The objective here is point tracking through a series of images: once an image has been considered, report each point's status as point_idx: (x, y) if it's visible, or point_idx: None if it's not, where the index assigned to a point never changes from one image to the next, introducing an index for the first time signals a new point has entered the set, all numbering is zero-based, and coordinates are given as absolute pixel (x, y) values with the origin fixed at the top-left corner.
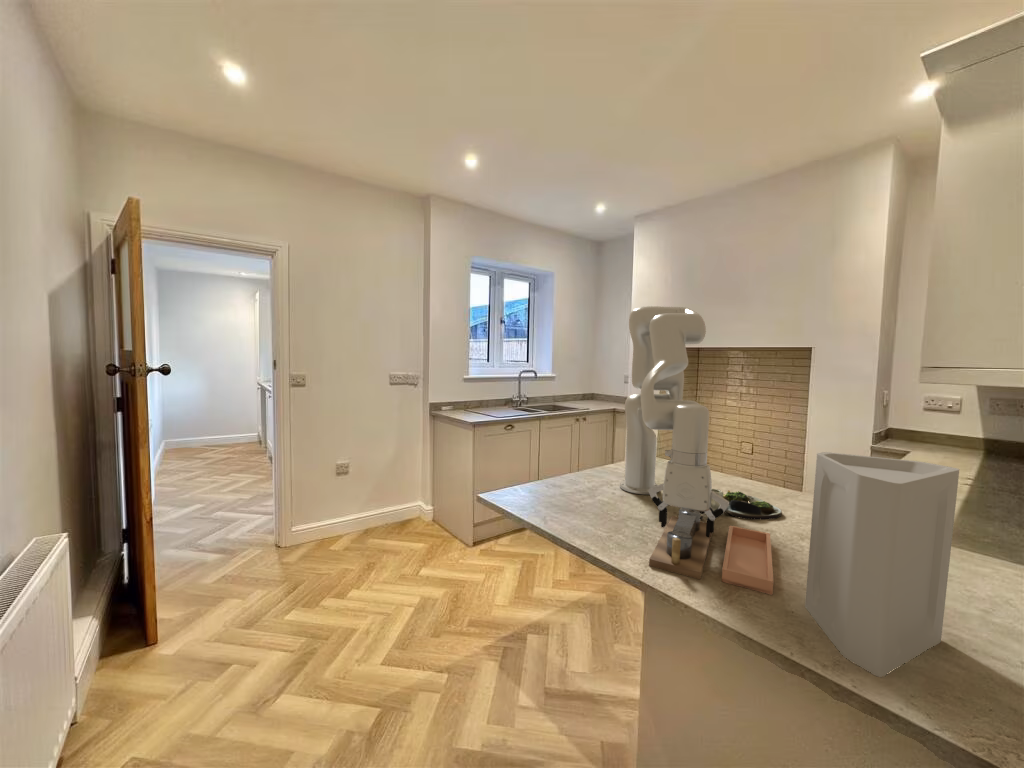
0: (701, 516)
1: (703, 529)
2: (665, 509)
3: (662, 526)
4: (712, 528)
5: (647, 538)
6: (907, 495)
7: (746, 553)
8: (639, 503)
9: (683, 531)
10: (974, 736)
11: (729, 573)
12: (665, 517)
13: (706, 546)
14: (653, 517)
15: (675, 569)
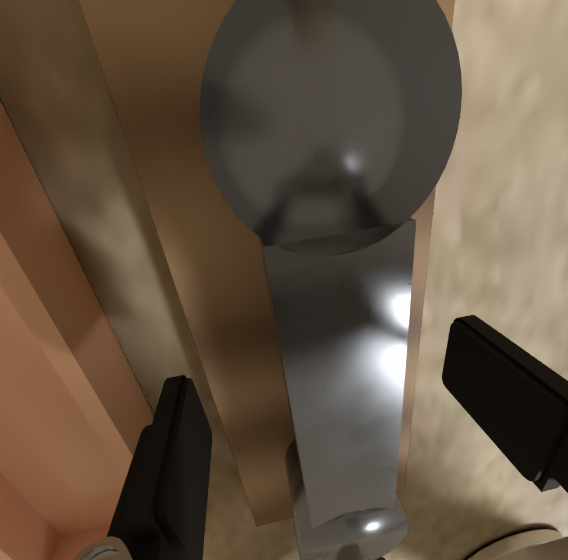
0: None
1: (272, 473)
2: (553, 458)
3: (467, 318)
4: (139, 454)
5: (465, 279)
6: None
7: (52, 420)
8: (504, 495)
9: (326, 273)
10: None
11: None
12: (496, 387)
13: (200, 344)
14: (455, 449)
15: None
